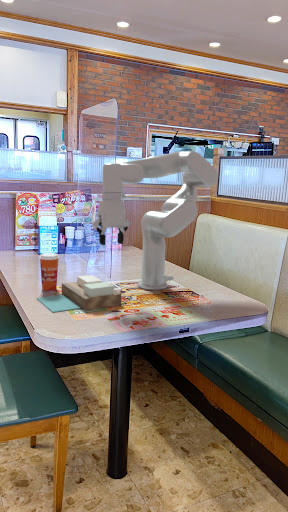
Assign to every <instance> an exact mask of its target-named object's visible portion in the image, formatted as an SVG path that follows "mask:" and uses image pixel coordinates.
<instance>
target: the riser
mask: <svg viewBox="0 0 288 512" xmlns="http://www.w3.org/2000/svg"><path fill="white" fill-rule="evenodd" d="M61 295H64V296H65V297H67V298H68V299H70V300H71V301H72V302H74V303H75V304H77V305H78V306H79V307H81V308H80V309H82V310H84V311H90V310H95V309H102V307H103V308H108V307H109V308H110V307H114V306H121V305H122V293H120V292H118V291H117V290H115V289H114V294H111V295H104V296H96V297H89V296H88V295H86V294H85V293H84V288H83V287H81V286H79V285H78V284H77V281H72V282H71V281H70V282H62V283H61Z"/></svg>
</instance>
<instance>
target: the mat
mask: <svg viewBox="0 0 288 512" xmlns="http://www.w3.org/2000/svg"><path fill="white" fill-rule="evenodd" d="M36 300H37V301H39V302H40V303H41V304H42V305H44V307H46V308H47V309H48V310H49V311H50V312H51V313H59V312H65V311H71V310H78V309H82V308H81V307H80V306H78V305H77V304H76V303H74V302H73V301H71V300H70V299H69V298H67V297H66V296H64V295H63V294H56V295H49V296H40V297H36Z"/></svg>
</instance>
